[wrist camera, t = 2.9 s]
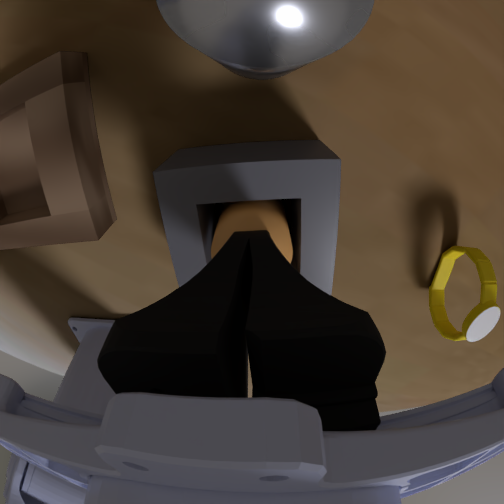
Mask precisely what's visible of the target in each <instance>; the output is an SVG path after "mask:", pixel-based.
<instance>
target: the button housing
mask: <svg viewBox="0 0 504 504" xmlns="http://www.w3.org/2000/svg"><path fill="white" fill-rule="evenodd" d="M153 176H154V181H155V186H156V191H157V196H158V201H159V206H160V211H161V215H162V220H163V224H164V229H165V233H166V237H167V241H168V245H169V250H170V254H171V258H172V262H173V266H174V269H175V273H176V277H177V281H178V284H179V287H181V286H182V285H184V284H185V283H186V282H188V281H189V280H190V279H191V278H193V277H194V276H195V275H196V274H197V273H199V272H200V271H201V270H202V269H203V268H204V267H205V266H206V265H207V264H208V263H209V262H210V261H211V260H212V257H211V246H212V241H213V238H214V234H215V230H216V227H217V223H218V222H217V215H216V208H215V203H222V202H237V201H253V200H271V199H291V224H292V239H291V243H292V249H293V255H292V261H291V263H290V264H291V265H292V266H293V267H294V268H295V269H296V270H297V271H298V272H299V273H300V274H301V275H302V276H303V277H304V278H306V279H307V280H308V281H309V282H311V283H312V284H314V285H315V286H316V287H318V288H319V289H321V290H322V291H324V292H326V293H327V294H329V295H331V292H332V283H333V274H334V264H335V254H336V243H337V230H338V216H339V199H340V177H341V159H340V158H339V157H338V156H337V155H336V154H335V153H334V152H333V151H331V150H330V149H329V148H328V147H327V146H326V145H325V144H324V143H323V142H321V141H320V140H287V141H264V142H248V143H234V144H223V145H213V146H203V147H194V148H186V149H179V150H177V151H176V152H175V153H174V154H173V155H172V156H170V157H169V158H168V159H167V160H166V161H165V162H163V163H162V164H161V165H160V166H159V167H158V168H157V169H156V170H155V171H153Z"/></svg>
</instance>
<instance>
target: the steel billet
mask: <svg viewBox="0 0 504 504" xmlns="http://www.w3.org/2000/svg"><path fill="white" fill-rule="evenodd" d="M156 2H157V5H158V8H159V11H160V13H161V14H162V16H163V18H164V20H165V21H166V23H167V24H168V25H169V27H170V28H171V29H172V30H173V31H174V32H175V33H176V34H177V35H178V36H179V37H180V38H181V39H182V40H184V41H185V42H186V43H188V44H189V45H190V46H192V47H194V48H195V49H197V50H199V51H200V52H202V53H204V54H205V55H207V56H208V57H210V58H212V59H213V60H215V61H216V62H218V63H219V64H221V65H222V66H224V67H225V68H227V69H228V70H230V71H231V72H233V73H235V74H237V75H239V76H242V77H245V78H249V79H256V80H268V79H274V78H279V77H281V76H284V75H286V74H289V73H291V72H293V71H295V70H297V69H299V68H301V67H303V66H305V65H307V64H309V63H311V62H314V61H316V60H318V59H320V58H322V57H325V56H327V55H329V54H331V53H333V52H335V51H337V50H338V49H340V48H342V47H343V46H344V45H346V44H347V43H348V42H350V41H351V40H352V39H353V38H354V37H355V36H356V35H357V34H358V33H359V32H360V31H361V29H362V28H363V26H364V25H365V24H366V22H367V20H368V18H369V16H370V14H371V11H372V8H373V4H374V0H156Z"/></svg>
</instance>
